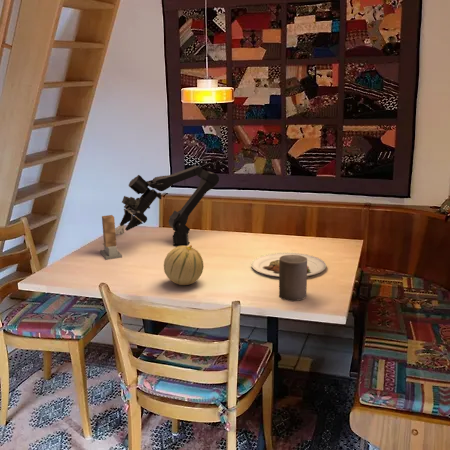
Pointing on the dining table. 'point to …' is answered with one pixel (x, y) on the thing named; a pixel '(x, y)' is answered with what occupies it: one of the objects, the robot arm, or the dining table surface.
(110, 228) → the walnut post
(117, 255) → the grey box
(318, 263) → the plated food
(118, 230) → the caliper
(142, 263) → the dining table surface
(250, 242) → the dining table surface
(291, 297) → the pillar candle
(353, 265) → the dining table surface
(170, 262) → the cantaloupe
